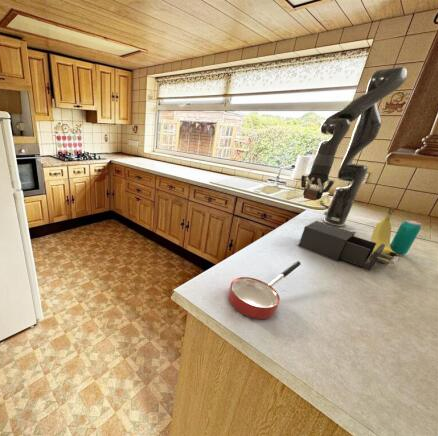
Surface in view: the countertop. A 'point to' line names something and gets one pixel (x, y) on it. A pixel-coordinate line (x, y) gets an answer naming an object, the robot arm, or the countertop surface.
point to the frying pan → (256, 295)
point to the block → (311, 193)
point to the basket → (363, 252)
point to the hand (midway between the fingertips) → (311, 197)
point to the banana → (384, 237)
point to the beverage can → (405, 237)
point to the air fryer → (325, 239)
